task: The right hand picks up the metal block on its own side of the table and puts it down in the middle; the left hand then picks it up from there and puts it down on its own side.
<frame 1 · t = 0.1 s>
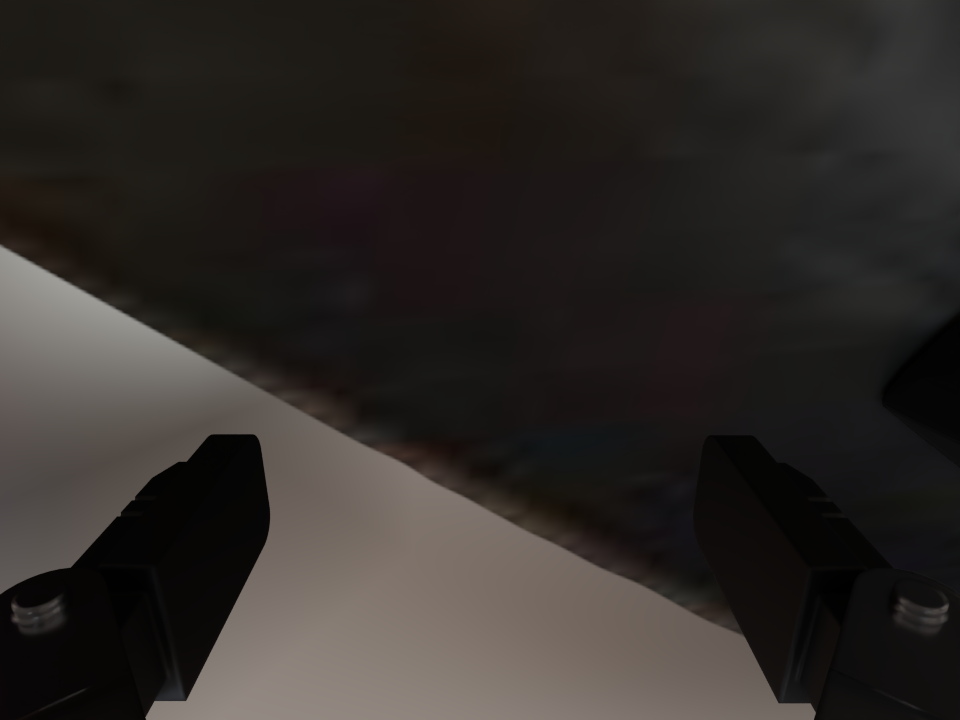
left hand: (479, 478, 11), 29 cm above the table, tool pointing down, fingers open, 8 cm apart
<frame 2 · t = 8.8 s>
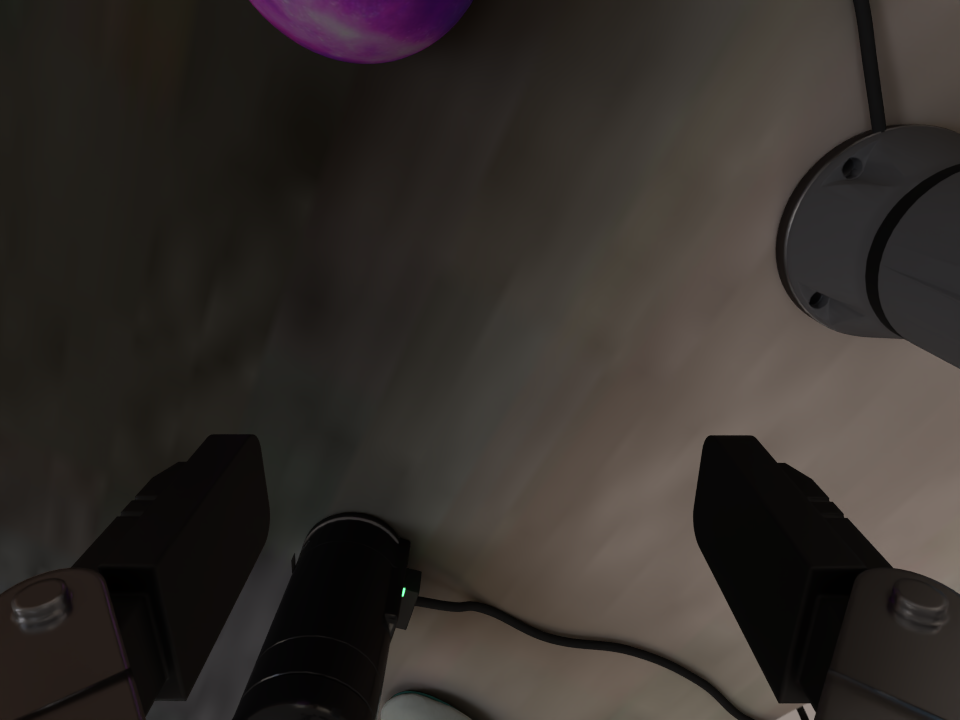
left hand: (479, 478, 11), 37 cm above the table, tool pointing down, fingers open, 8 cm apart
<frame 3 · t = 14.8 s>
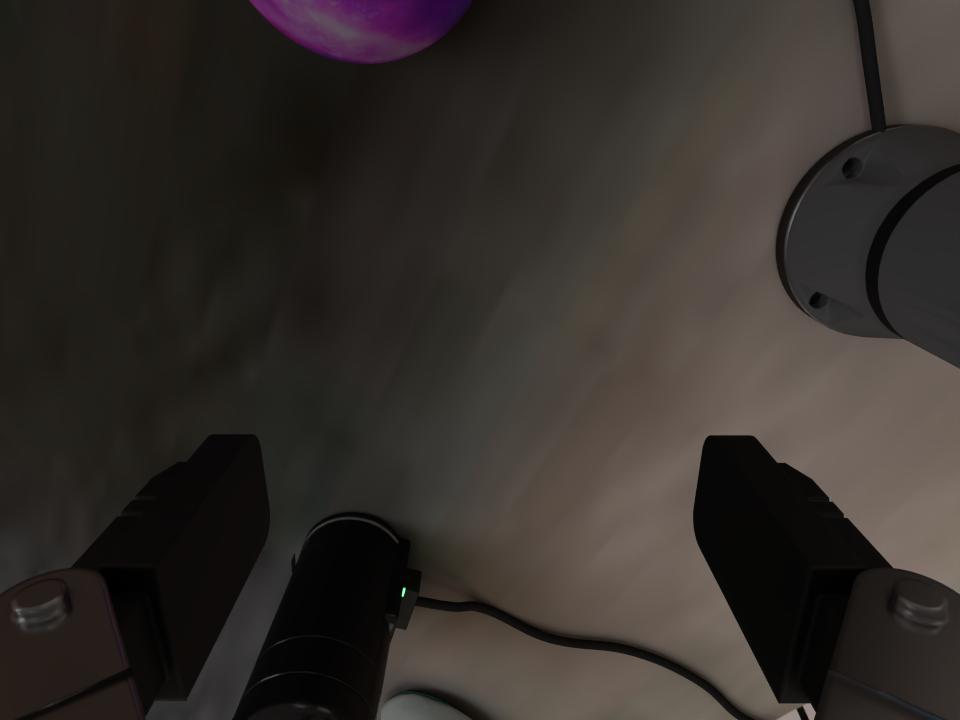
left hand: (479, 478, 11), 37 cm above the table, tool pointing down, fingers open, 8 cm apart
when the right hand's fingers open (0 cm above the table, at t = 21.2 s): metal block stays where it is, on the table.
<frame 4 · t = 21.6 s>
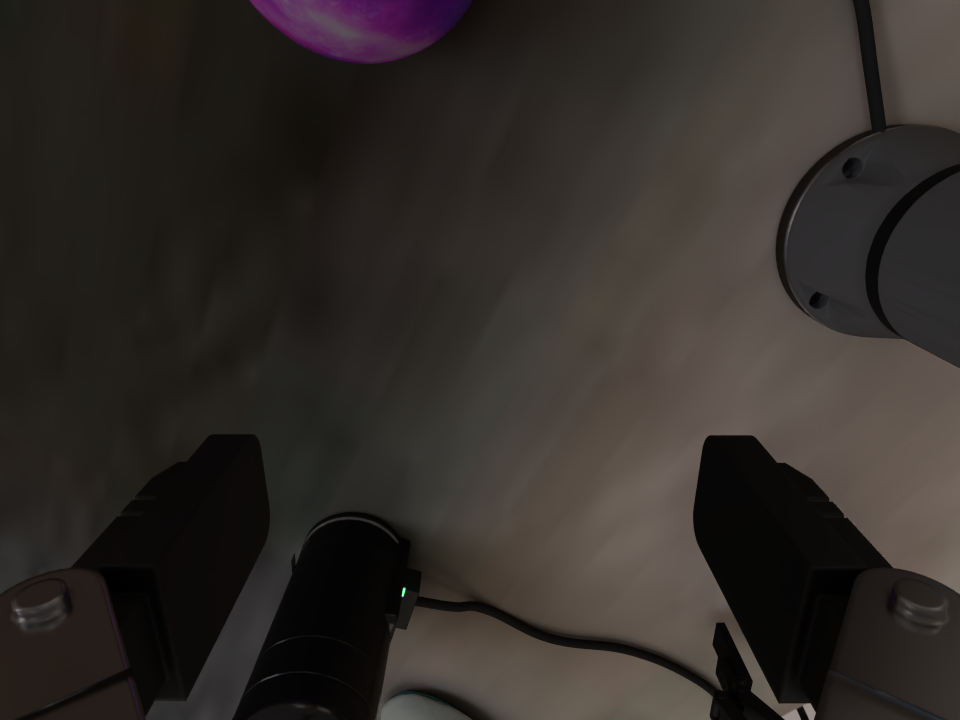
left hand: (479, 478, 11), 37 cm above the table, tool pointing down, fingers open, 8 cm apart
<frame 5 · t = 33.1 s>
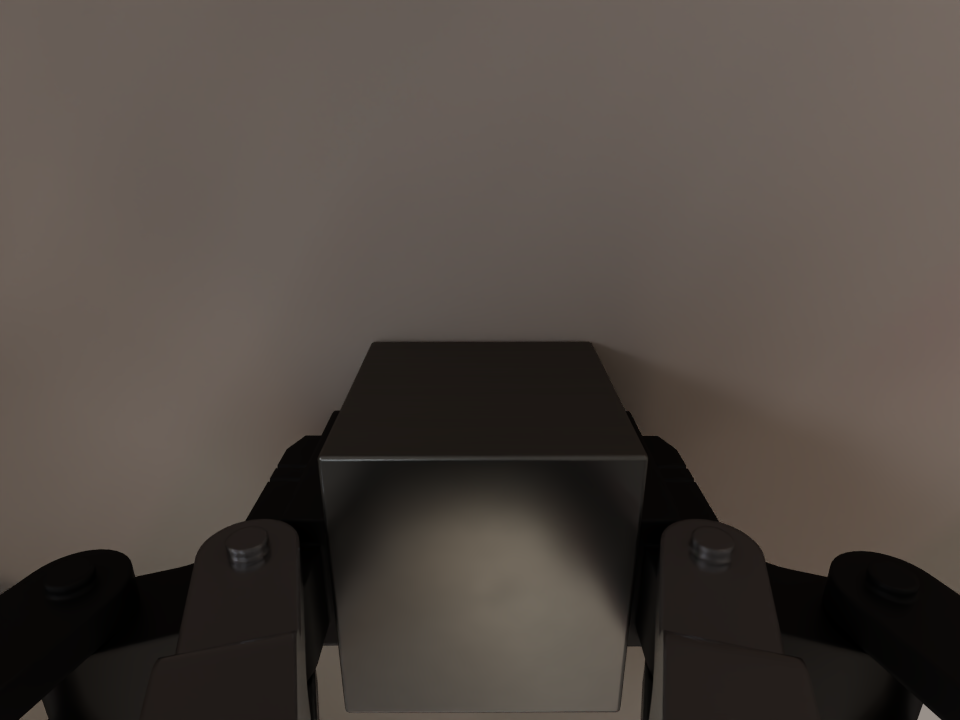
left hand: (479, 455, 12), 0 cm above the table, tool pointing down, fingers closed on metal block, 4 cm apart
metal block: (481, 444, 13), on the table, touching left hand
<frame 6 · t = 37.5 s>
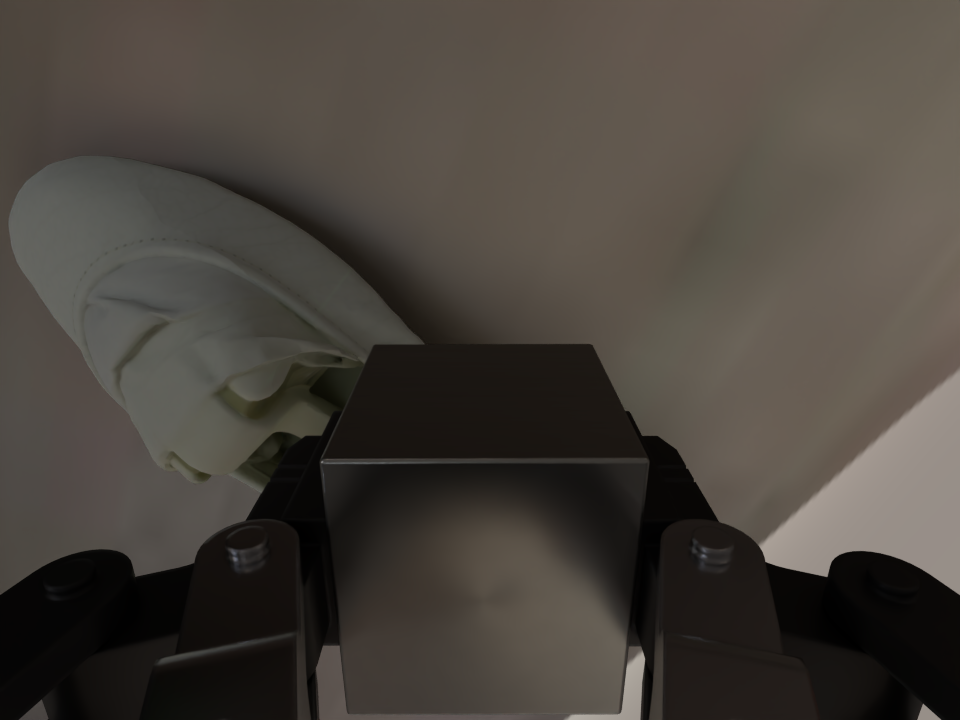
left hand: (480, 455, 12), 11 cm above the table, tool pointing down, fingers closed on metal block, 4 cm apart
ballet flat: (353, 381, 24), on the table
metal block: (482, 446, 13), point 11 cm above the table, touching left hand
when the left hand's fingers open (1 cm above the table, at t = 41.9 s): metal block stays where it is, on the table.
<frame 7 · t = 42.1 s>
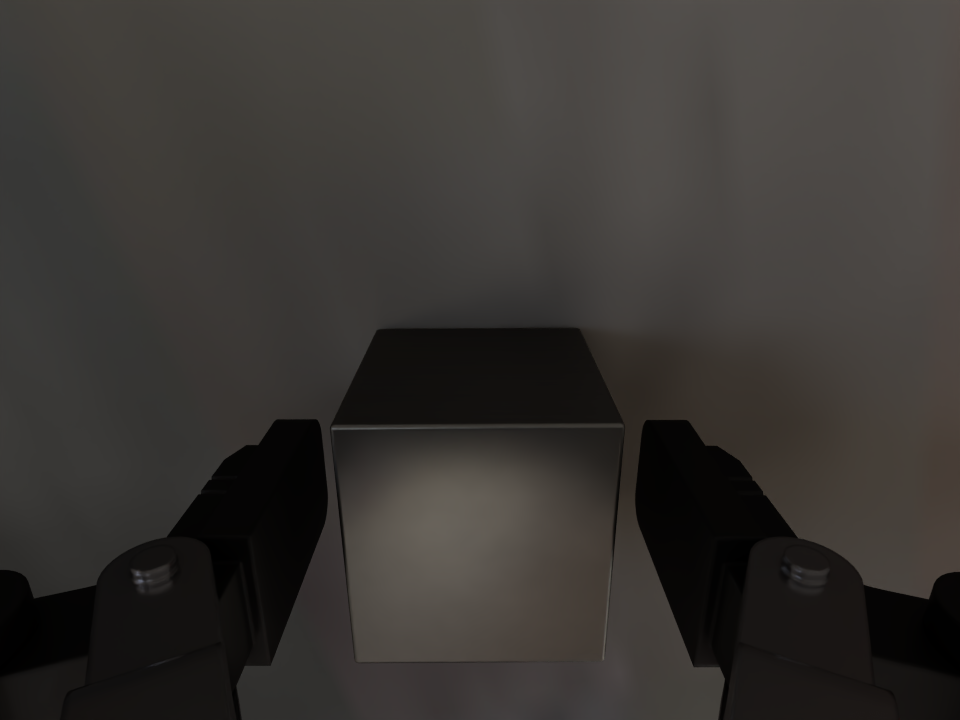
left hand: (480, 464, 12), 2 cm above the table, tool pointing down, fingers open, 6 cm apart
metal block: (478, 425, 13), on the table
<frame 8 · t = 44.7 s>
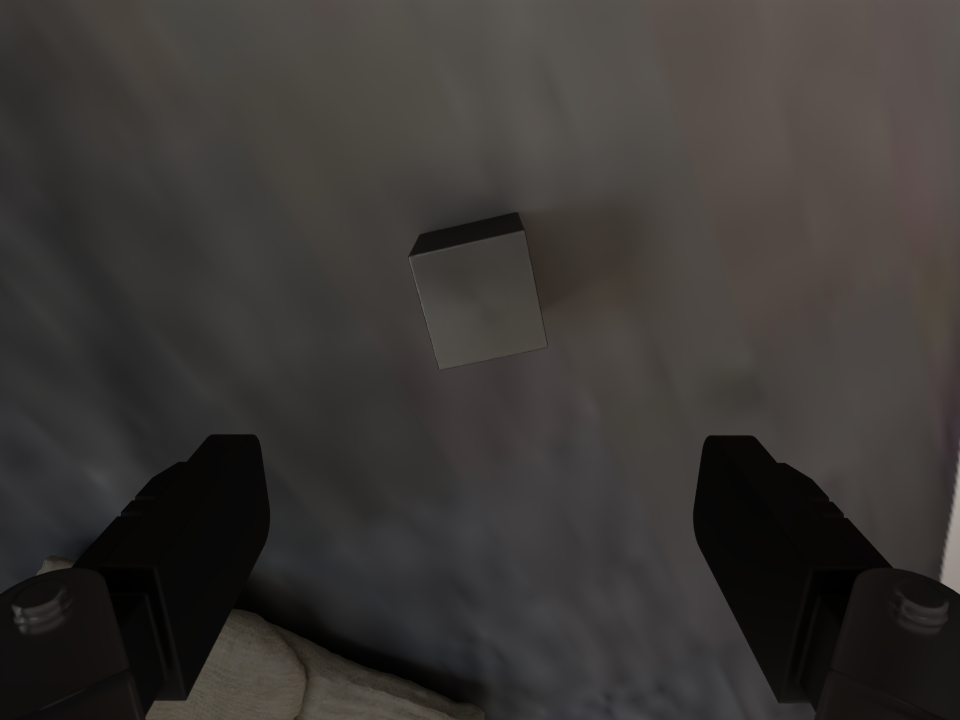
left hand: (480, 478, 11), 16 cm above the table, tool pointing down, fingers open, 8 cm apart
metal block: (479, 275, 26), on the table
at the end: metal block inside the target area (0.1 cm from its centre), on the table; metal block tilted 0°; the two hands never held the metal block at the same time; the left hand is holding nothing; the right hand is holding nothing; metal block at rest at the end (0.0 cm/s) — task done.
